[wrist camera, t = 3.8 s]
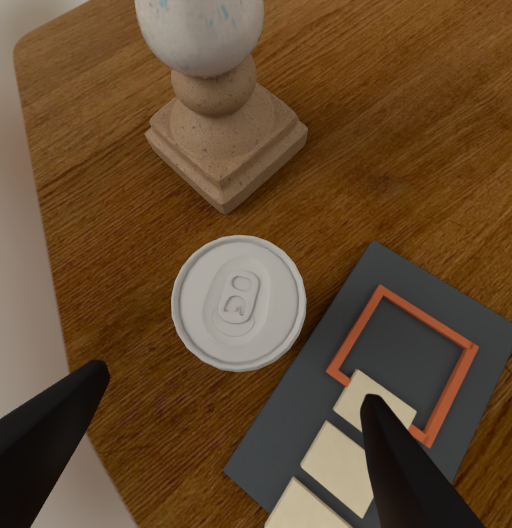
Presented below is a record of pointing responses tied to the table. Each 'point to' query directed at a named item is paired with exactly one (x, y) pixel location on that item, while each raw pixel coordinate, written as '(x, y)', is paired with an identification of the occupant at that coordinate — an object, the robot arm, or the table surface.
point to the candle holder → (217, 99)
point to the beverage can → (239, 303)
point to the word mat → (371, 392)
